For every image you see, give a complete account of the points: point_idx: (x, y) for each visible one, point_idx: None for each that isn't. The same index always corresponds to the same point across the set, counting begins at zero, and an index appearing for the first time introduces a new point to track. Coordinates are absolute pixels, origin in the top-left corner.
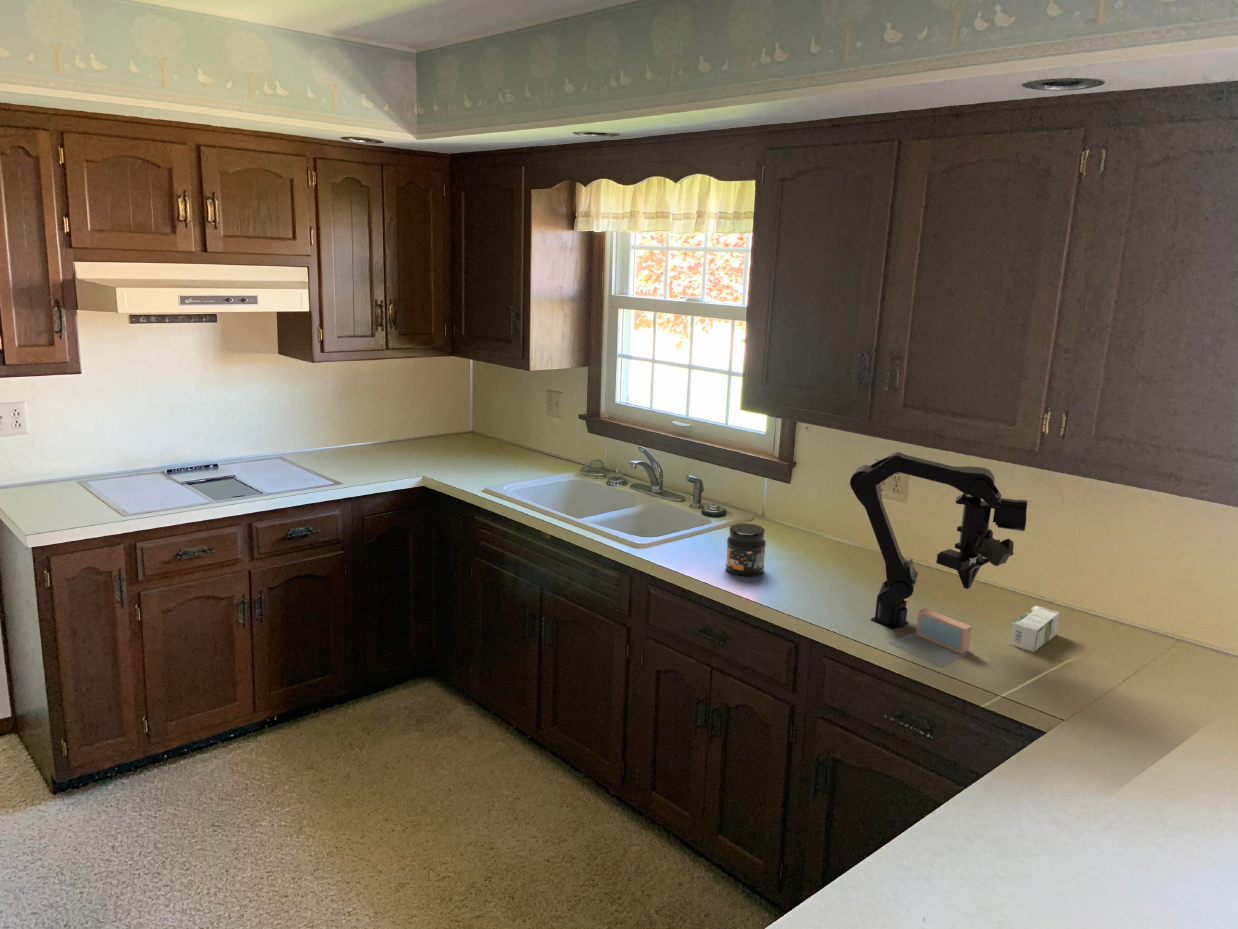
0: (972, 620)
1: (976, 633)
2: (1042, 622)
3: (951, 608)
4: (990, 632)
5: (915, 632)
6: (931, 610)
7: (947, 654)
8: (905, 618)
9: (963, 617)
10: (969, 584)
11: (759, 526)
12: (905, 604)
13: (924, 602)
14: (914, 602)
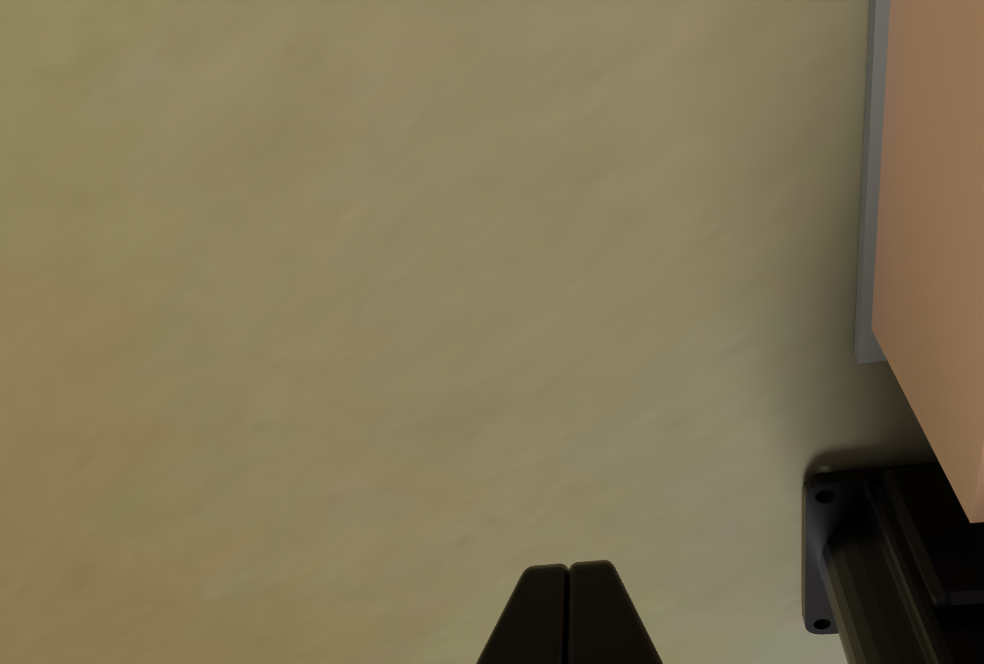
0: (186, 313)
1: (349, 96)
2: None
3: (218, 514)
4: (177, 49)
5: None
6: (982, 453)
7: None
8: (926, 513)
9: (229, 381)
10: (602, 655)
11: None
12: (961, 649)
13: (354, 633)
14: (426, 655)
